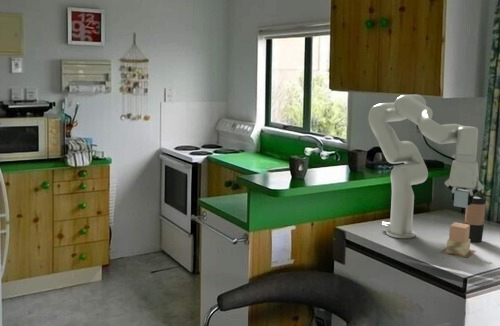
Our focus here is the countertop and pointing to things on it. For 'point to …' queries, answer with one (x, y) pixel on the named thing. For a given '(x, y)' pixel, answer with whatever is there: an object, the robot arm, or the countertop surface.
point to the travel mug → (476, 218)
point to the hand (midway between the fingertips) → (462, 203)
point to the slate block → (461, 198)
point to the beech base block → (458, 247)
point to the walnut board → (457, 254)
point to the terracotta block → (459, 232)
